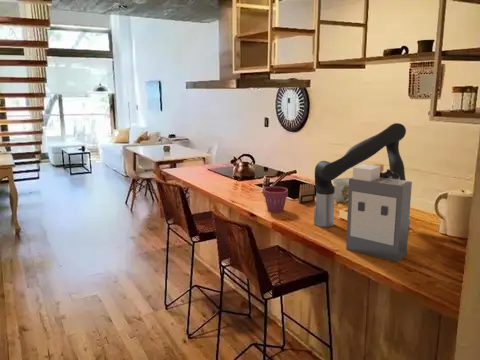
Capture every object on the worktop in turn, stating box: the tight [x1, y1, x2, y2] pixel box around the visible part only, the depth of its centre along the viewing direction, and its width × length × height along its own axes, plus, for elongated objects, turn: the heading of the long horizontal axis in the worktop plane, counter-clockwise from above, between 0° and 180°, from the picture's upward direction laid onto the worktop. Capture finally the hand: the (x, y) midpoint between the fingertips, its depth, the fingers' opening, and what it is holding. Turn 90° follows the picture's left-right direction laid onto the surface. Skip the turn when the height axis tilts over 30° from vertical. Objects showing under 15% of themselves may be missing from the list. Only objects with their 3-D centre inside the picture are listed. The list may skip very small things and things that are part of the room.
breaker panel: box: [345, 177, 413, 263], centre depth 181 cm, size 23×11×32 cm, turn 49°
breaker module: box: [352, 163, 385, 182], centre depth 185 cm, size 8×19×5 cm, turn 139°
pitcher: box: [332, 177, 351, 203], centre depth 263 cm, size 11×18×14 cm, turn 122°
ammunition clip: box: [298, 182, 316, 204], centre depth 263 cm, size 11×2×12 cm, turn 114°
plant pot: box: [263, 186, 289, 214], centre depth 246 cm, size 14×14×13 cm
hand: (378, 170), depth 190 cm, fingers open, 8 cm apart
